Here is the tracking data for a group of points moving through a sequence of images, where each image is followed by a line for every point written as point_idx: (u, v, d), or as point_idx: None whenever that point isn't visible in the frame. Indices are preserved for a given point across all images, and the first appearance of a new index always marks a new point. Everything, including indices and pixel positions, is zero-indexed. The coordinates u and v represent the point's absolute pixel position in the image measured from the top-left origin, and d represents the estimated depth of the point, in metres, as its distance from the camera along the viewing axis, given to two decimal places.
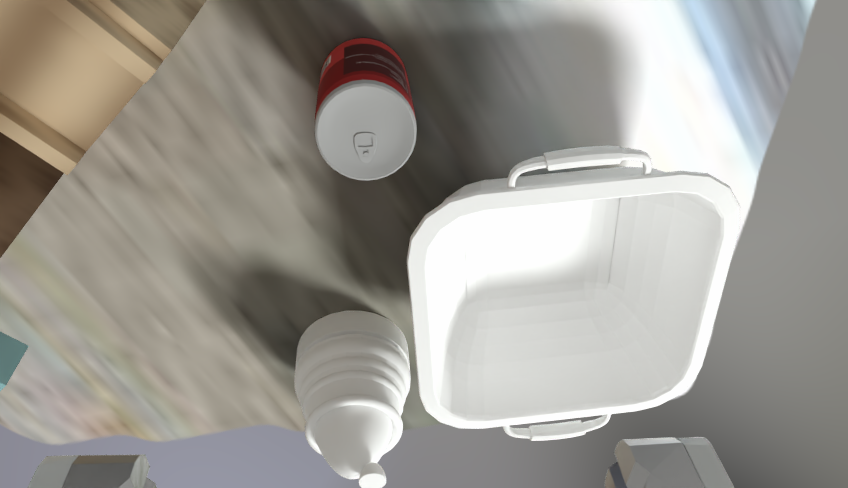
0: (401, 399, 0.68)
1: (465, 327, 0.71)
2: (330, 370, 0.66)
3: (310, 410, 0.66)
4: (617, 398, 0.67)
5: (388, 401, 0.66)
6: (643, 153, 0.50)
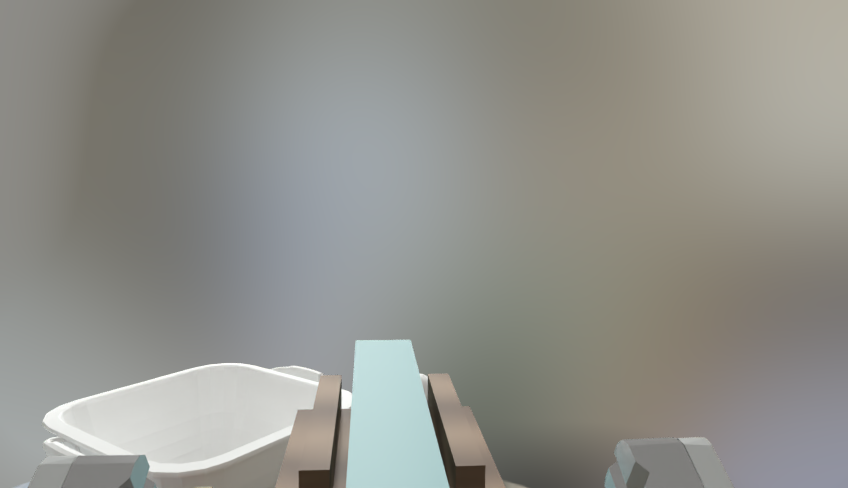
0: None
1: None
2: None
3: None
4: (254, 374, 0.90)
5: None
6: (43, 444, 0.66)
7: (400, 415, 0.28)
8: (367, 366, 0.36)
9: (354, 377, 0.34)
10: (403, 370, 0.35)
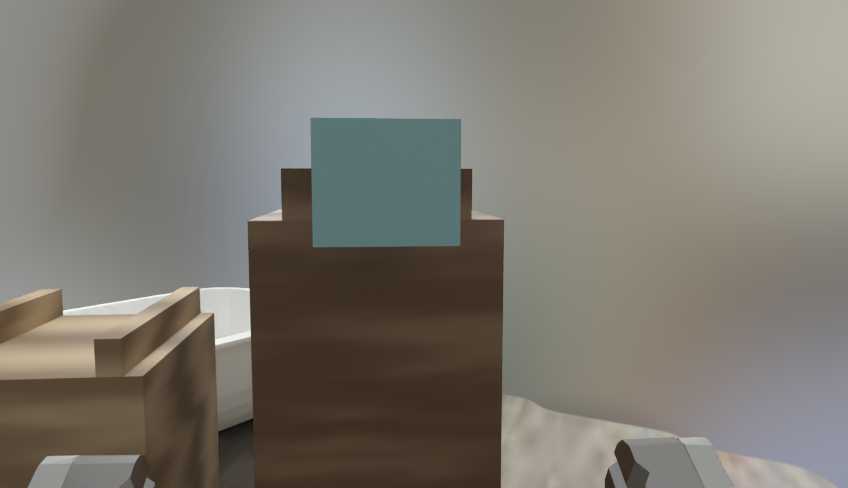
0: None
1: None
2: None
3: None
4: (248, 295, 0.89)
5: None
6: None
7: None
8: None
9: None
10: None
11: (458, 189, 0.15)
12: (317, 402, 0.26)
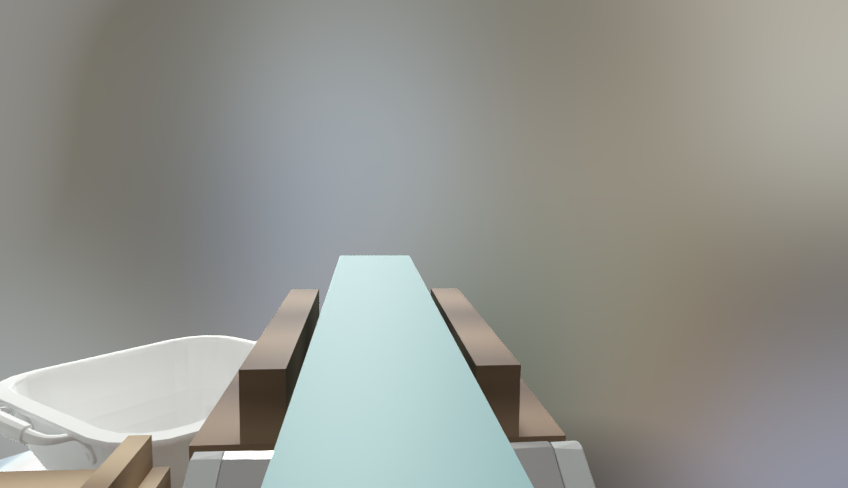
0: None
1: None
2: None
3: None
4: (237, 346, 0.81)
5: None
6: None
7: (394, 307, 0.20)
8: (352, 272, 0.27)
9: (333, 279, 0.25)
10: (399, 275, 0.26)
11: None
12: None
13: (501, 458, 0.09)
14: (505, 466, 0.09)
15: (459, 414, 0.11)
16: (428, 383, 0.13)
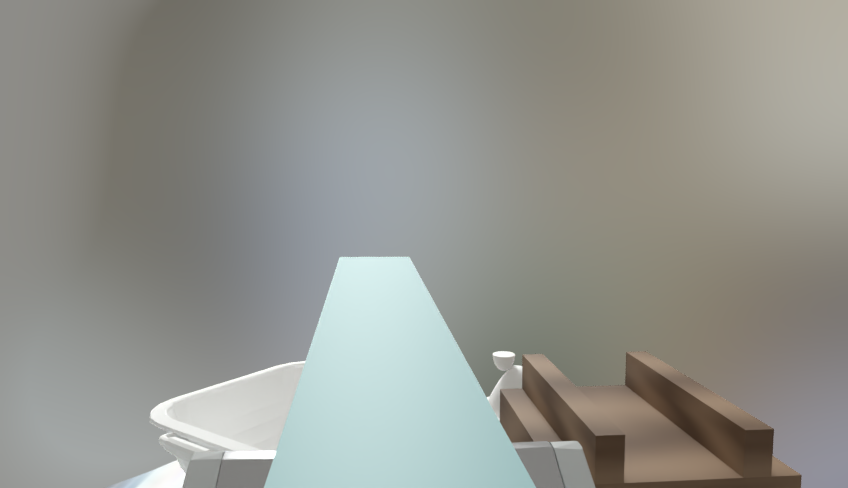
0: None
1: None
2: None
3: None
4: None
5: None
6: (159, 439, 0.66)
7: (394, 308, 0.20)
8: (352, 273, 0.27)
9: (333, 280, 0.25)
10: (399, 276, 0.26)
11: None
12: None
13: (503, 460, 0.09)
14: (508, 467, 0.09)
15: (461, 416, 0.11)
16: (429, 384, 0.12)
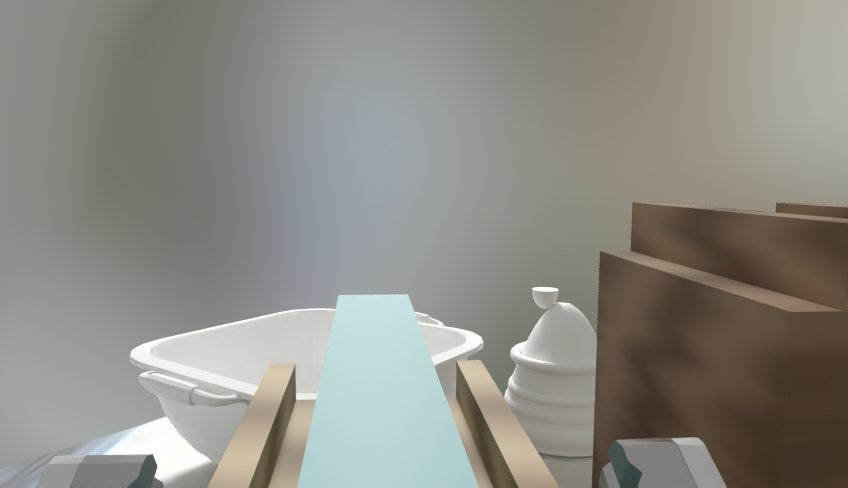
0: None
1: None
2: (557, 411, 0.60)
3: (594, 383, 0.60)
4: None
5: (516, 367, 0.65)
6: None
7: (393, 372, 0.20)
8: (351, 319, 0.27)
9: (332, 330, 0.25)
10: (398, 323, 0.26)
11: None
12: None
13: None
14: None
15: None
16: (428, 484, 0.13)
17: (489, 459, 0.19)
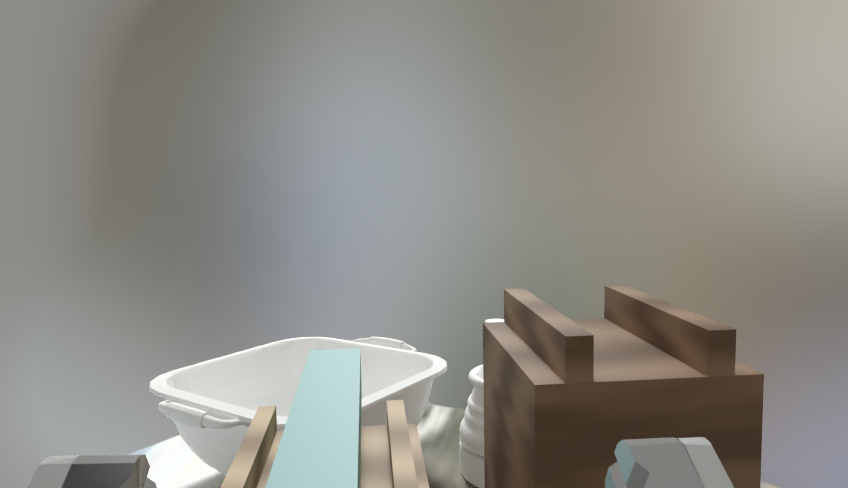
0: None
1: None
2: None
3: None
4: (336, 346, 0.91)
5: (474, 387, 0.77)
6: (158, 405, 0.67)
7: (332, 415, 0.32)
8: (314, 373, 0.39)
9: (300, 383, 0.37)
10: (345, 376, 0.39)
11: None
12: None
13: None
14: None
15: None
16: (332, 483, 0.25)
17: (391, 468, 0.31)
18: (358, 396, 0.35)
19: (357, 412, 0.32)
